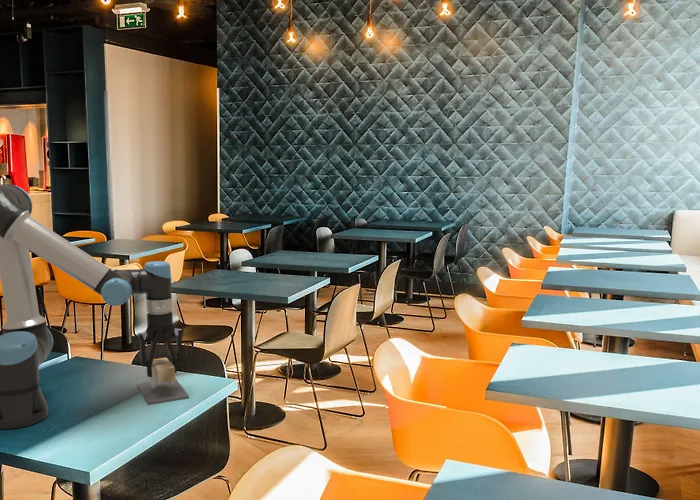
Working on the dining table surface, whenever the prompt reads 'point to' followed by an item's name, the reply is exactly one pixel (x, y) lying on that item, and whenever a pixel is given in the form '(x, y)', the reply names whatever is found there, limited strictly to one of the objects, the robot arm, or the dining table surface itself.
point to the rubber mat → (162, 392)
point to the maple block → (163, 370)
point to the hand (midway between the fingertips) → (162, 384)
